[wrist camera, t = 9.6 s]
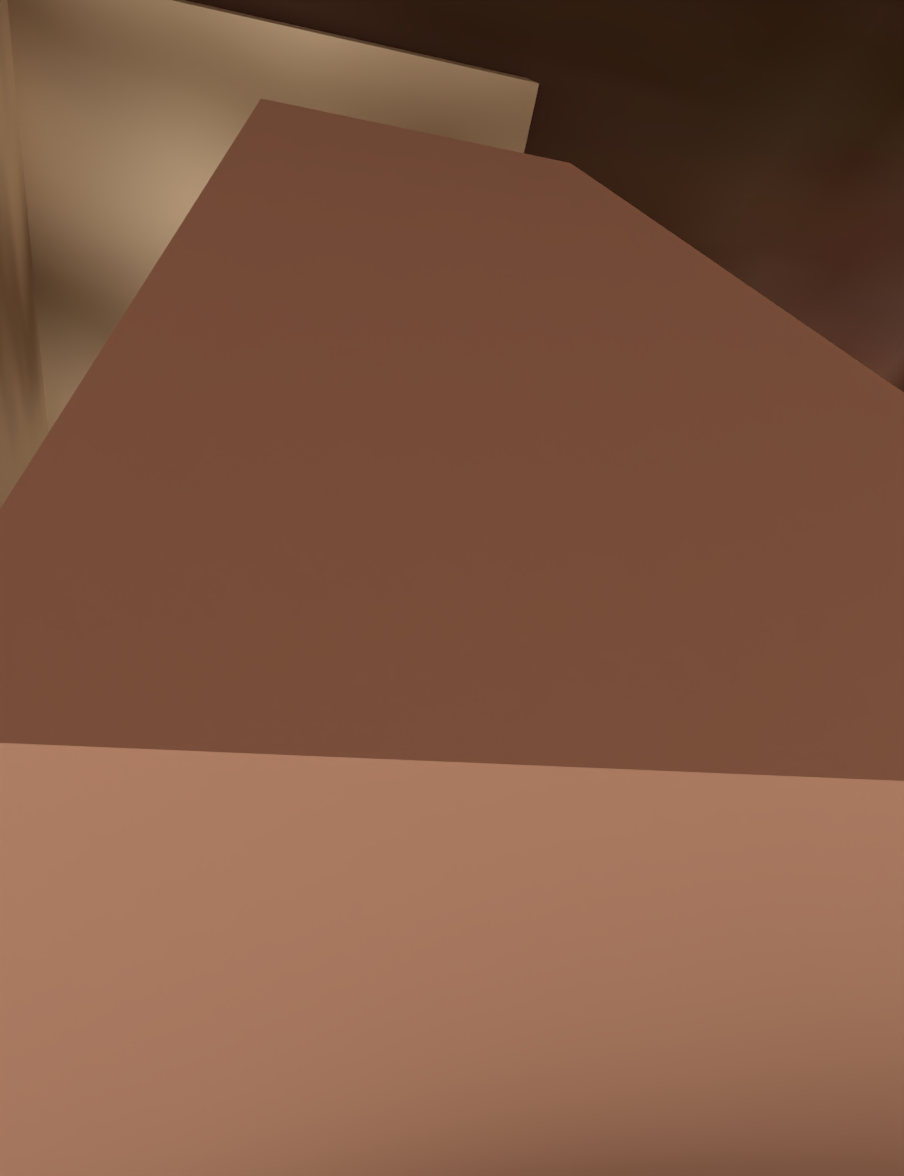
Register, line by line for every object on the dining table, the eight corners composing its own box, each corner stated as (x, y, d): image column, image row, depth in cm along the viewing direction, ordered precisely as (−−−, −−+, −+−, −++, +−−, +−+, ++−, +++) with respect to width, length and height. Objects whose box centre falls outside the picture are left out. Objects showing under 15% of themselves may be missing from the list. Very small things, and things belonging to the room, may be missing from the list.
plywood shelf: (-50, -54, 18) (-652, -122, 7) (526, 78, 20) (753, 177, 10) (18, 507, 25) (-210, 889, 15) (427, 547, 28) (490, 893, 17)
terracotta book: (260, 98, 11) (-145, 734, 2) (570, 163, 12) (1506, 805, 3) (228, 690, 17) (104, 1561, 8) (435, 702, 18) (556, 1491, 9)
